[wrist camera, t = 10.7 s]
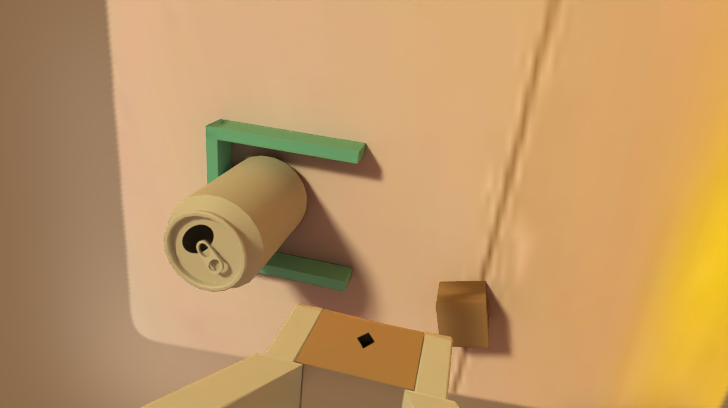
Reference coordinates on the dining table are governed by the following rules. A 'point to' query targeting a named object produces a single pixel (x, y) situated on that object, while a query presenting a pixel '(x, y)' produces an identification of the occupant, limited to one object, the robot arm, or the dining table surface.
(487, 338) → the walnut block
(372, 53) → the dining table surface
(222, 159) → the corral
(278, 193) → the can
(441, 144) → the dining table surface
